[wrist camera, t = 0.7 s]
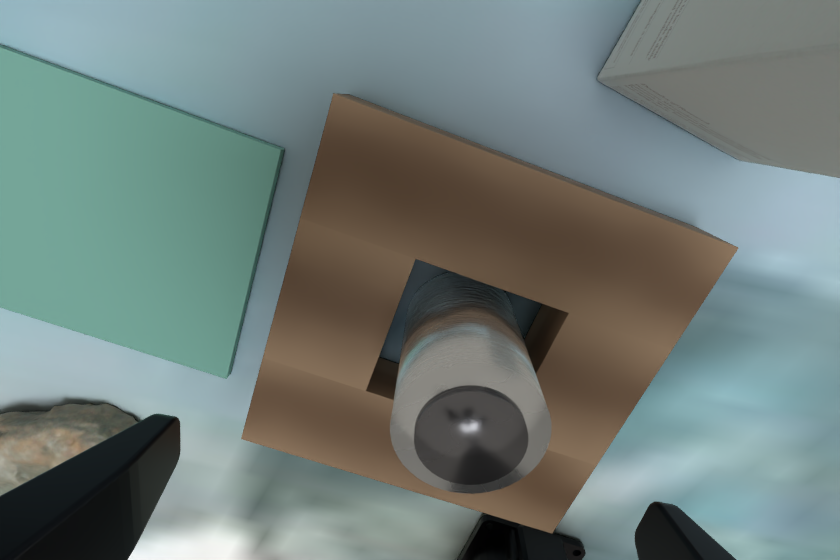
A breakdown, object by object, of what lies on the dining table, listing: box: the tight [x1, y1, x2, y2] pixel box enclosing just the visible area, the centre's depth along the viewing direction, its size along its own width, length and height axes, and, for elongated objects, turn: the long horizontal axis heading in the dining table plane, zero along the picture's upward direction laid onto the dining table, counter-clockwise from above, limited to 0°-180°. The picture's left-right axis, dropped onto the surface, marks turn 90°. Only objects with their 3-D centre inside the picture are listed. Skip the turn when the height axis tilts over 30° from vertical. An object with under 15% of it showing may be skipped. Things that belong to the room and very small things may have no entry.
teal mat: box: [0, 45, 284, 379], centre depth 21 cm, size 12×12×1 cm
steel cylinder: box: [390, 272, 551, 494], centre depth 18 cm, size 5×5×8 cm
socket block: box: [241, 93, 738, 533], centre depth 21 cm, size 16×16×3 cm
